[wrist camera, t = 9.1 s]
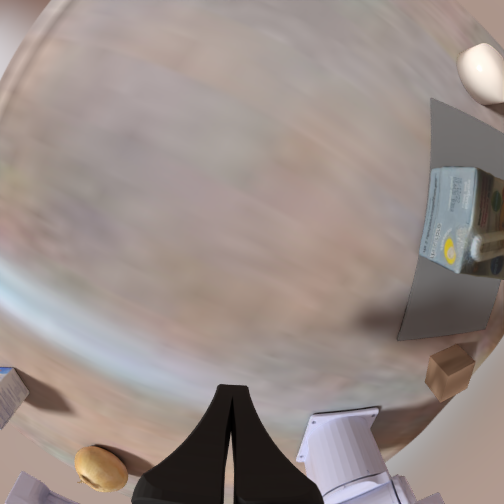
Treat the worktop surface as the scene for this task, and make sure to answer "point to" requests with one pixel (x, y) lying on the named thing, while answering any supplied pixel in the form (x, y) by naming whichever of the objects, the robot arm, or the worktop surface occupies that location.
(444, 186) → the beverage carton
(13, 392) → the medicine box
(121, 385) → the worktop surface
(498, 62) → the cream egg shape
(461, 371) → the walnut block
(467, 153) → the mat
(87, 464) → the onion
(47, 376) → the worktop surface
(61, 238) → the worktop surface
